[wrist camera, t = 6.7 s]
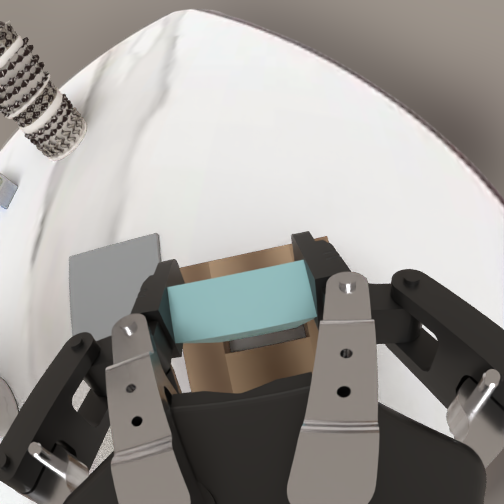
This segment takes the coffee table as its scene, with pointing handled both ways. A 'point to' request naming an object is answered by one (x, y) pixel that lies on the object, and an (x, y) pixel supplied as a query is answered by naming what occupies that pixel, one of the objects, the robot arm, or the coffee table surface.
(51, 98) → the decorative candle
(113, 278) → the mat
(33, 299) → the coffee table surface
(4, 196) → the medicine box
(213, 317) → the teal rectangular block
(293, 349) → the holder
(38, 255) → the coffee table surface
